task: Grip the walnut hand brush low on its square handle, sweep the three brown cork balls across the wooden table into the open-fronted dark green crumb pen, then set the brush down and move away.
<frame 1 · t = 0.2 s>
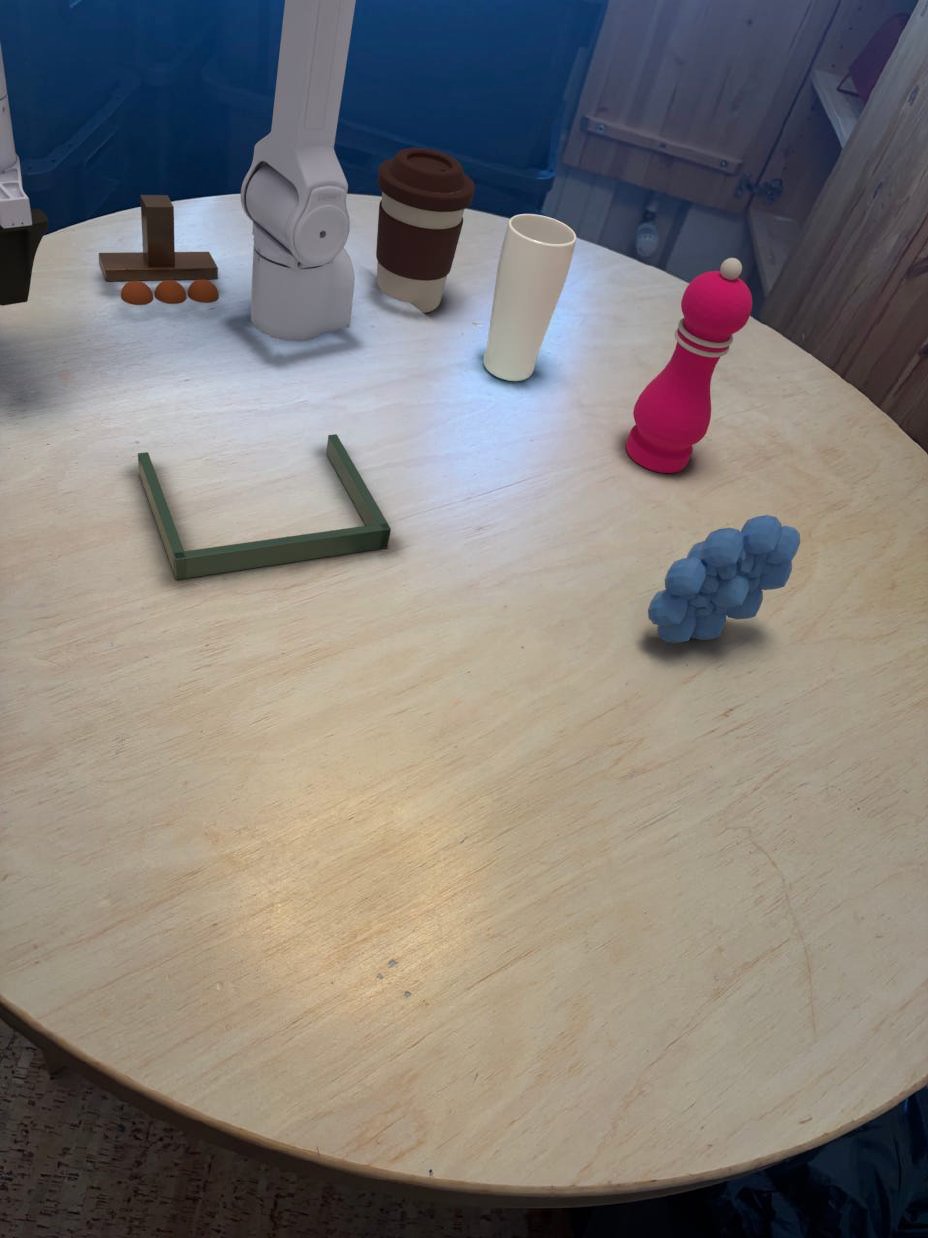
drinking glass: (506, 371, 99), on the table
ball 1: (137, 296, 92), point 1 cm above the table
pepper mill: (655, 456, 93), on the table
brush: (159, 285, 98), on the table
ball middle: (170, 295, 94), point 1 cm above the table
ball 2: (203, 294, 95), point 1 cm above the table
coffee cup: (407, 300, 106), on the table
grapes: (689, 629, 76), on the table
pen: (261, 507, 76), on the table
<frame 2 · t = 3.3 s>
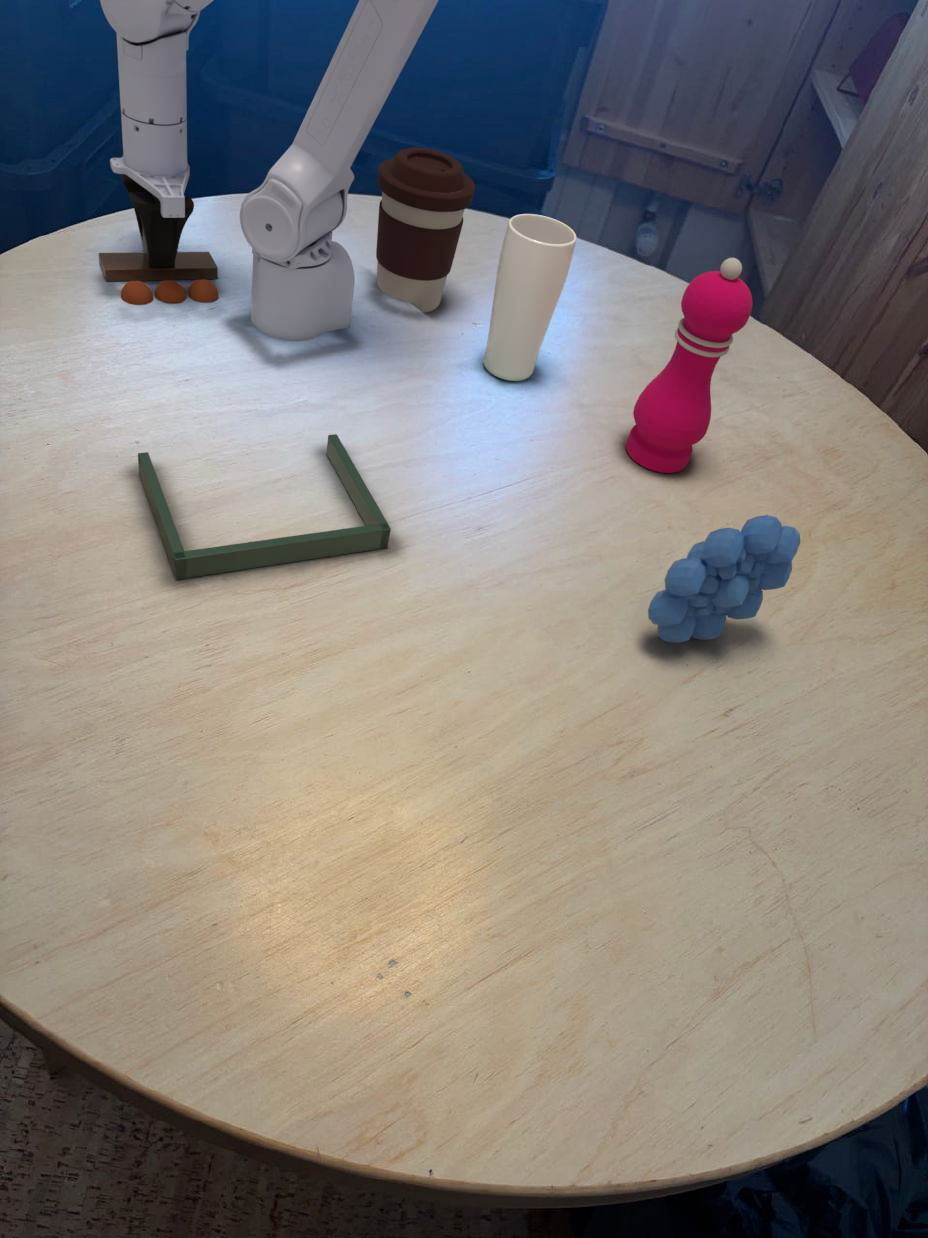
hand: (158, 257, 96), 3 cm above the table, tool pointing down, fingers closed on brush, 2 cm apart
brush: (159, 285, 98), on the table, touching gripper
everything else where it was.
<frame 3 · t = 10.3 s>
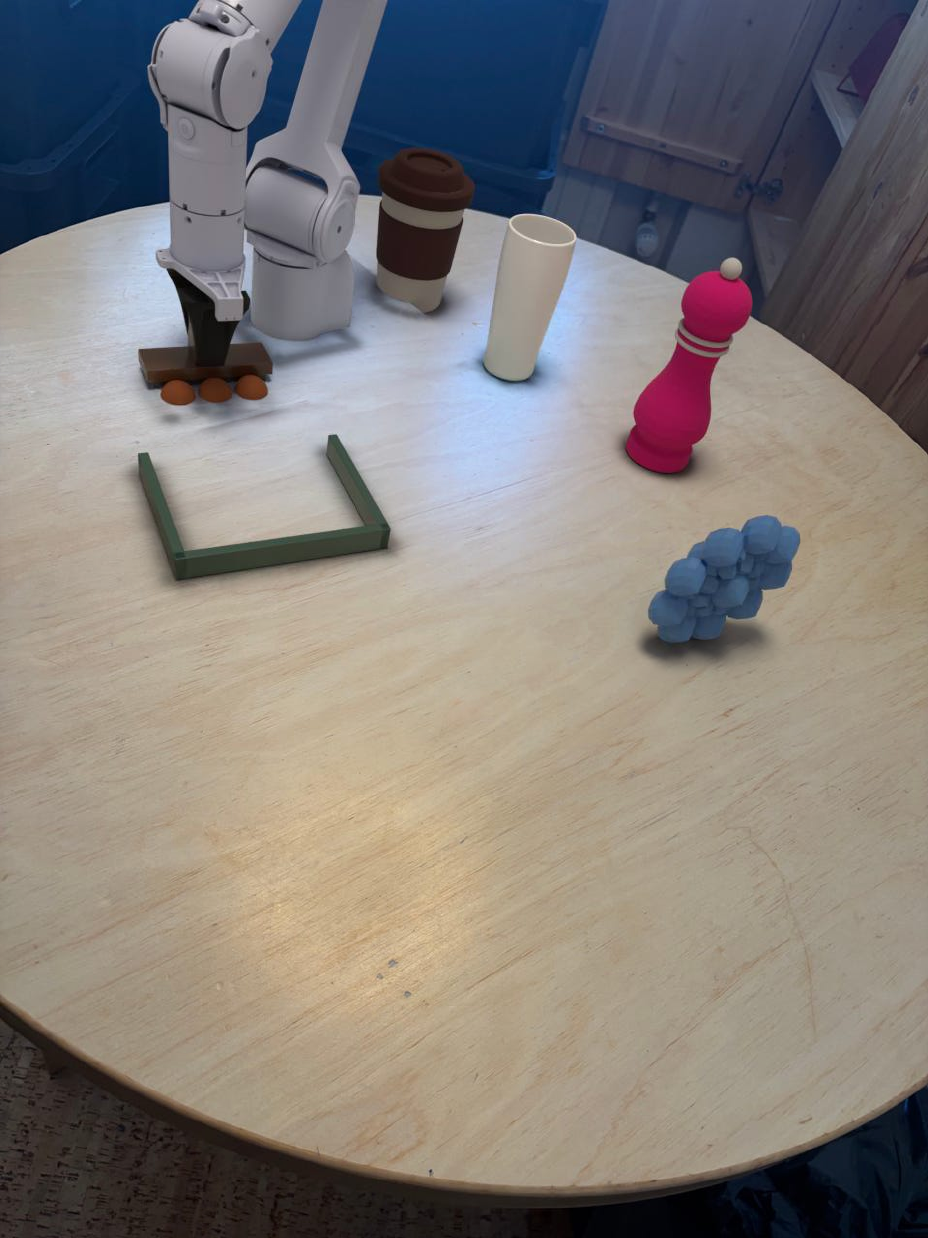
hand: (206, 354, 84), 4 cm above the table, tool pointing down, fingers closed on brush, 2 cm apart
ball 1: (178, 397, 82), point 1 cm above the table, tilted 24°, touching brush
brush: (206, 382, 86), point 1 cm above the table, touching ball 2, ball middle, ball 1, gripper
ball middle: (215, 394, 84), point 1 cm above the table, tilted 24°, touching brush
ball 2: (250, 392, 85), point 1 cm above the table, tilted 25°, touching brush
everything else where it was.
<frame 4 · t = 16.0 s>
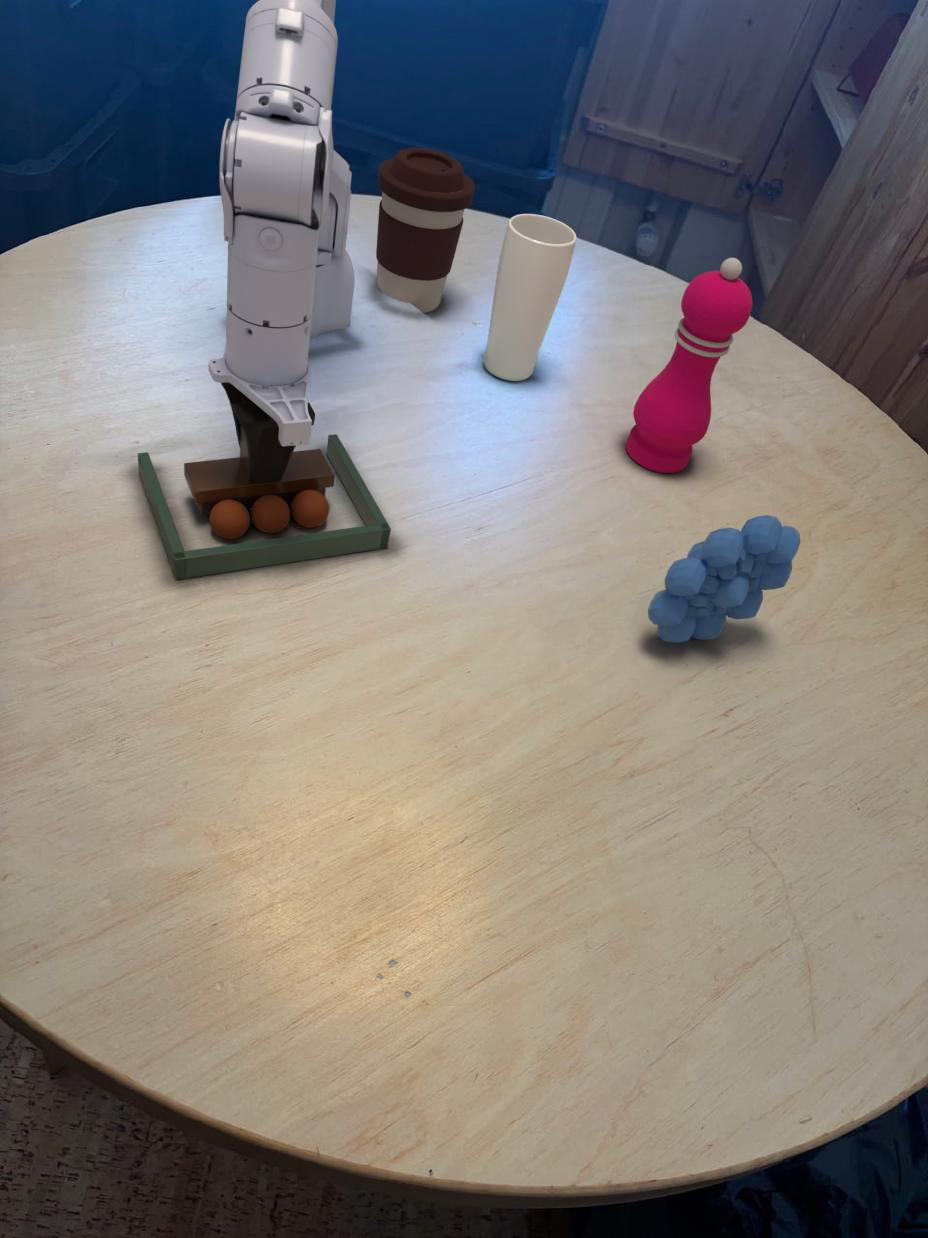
hand: (261, 467, 74), 4 cm above the table, tool pointing down, fingers closed on brush, 2 cm apart
ball 1: (229, 519, 73), point 1 cm above the table, tilted 27°, touching brush
brush: (259, 496, 76), point 1 cm above the table, touching ball 2, ball middle, ball 1, gripper
ball middle: (270, 513, 74), point 1 cm above the table, tilted 28°, touching brush
ball 2: (309, 508, 75), point 1 cm above the table, tilted 29°, touching brush
everything else where it was.
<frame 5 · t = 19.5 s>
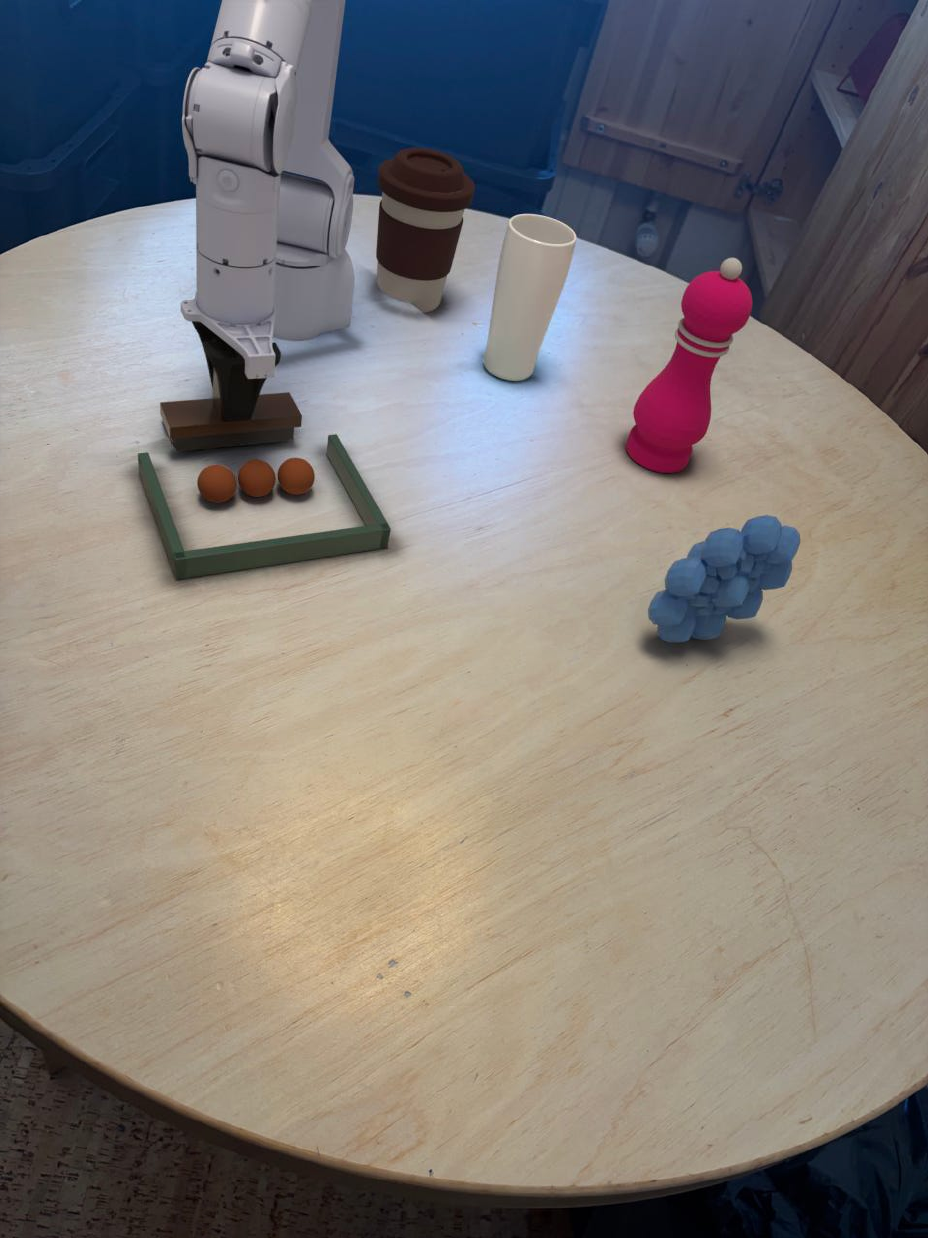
hand: (232, 407, 79), 3 cm above the table, tool pointing down, fingers closed on brush, 2 cm apart
ball 1: (217, 483, 75), point 1 cm above the table, tilted 132°
brush: (231, 435, 81), point 1 cm above the table, touching gripper
ball middle: (256, 478, 76), point 1 cm above the table, tilted 137°
ball 2: (296, 476, 78), point 1 cm above the table, tilted 123°
everything else where it was.
when the fingers open (3 cm above the table, at t = 20.0 s): brush stays where it is, on the table.
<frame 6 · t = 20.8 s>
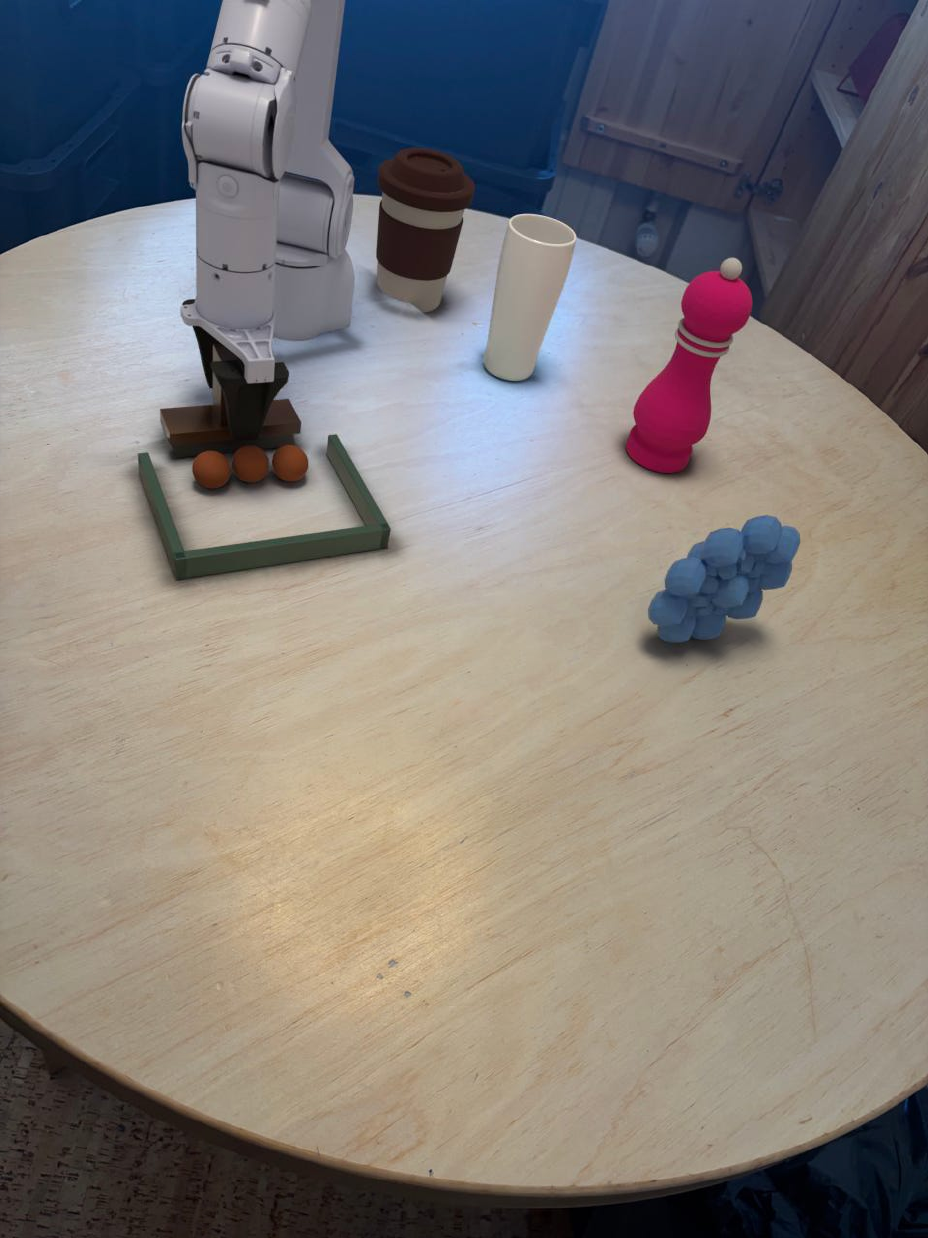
hand: (232, 410, 79), 3 cm above the table, tool pointing down, fingers open, 7 cm apart
ball 1: (211, 469, 76), point 1 cm above the table, tilted 157°
brush: (231, 441, 82), on the table
ball middle: (250, 463, 78), point 1 cm above the table, tilted 150°
ball 2: (290, 463, 79), point 1 cm above the table, tilted 169°
everything else where it was.
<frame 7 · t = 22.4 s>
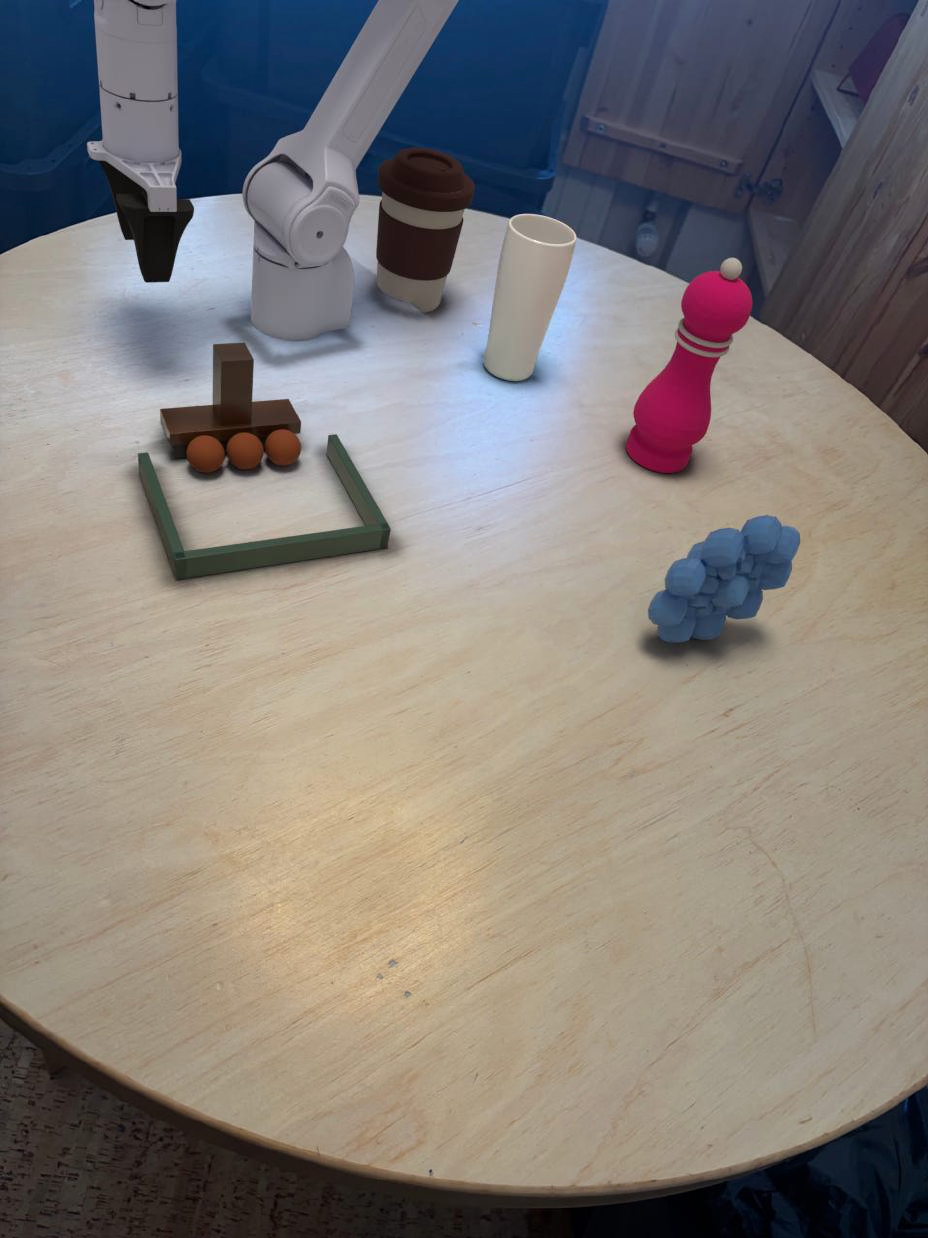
hand: (146, 258, 82), 9 cm above the table, tool pointing down, fingers open, 7 cm apart
ball 1: (205, 454, 77), point 1 cm above the table, tilted 78°
ball middle: (245, 450, 79), point 1 cm above the table, tilted 82°
ball 2: (282, 447, 80), point 1 cm above the table, tilted 85°
everything else where it was.
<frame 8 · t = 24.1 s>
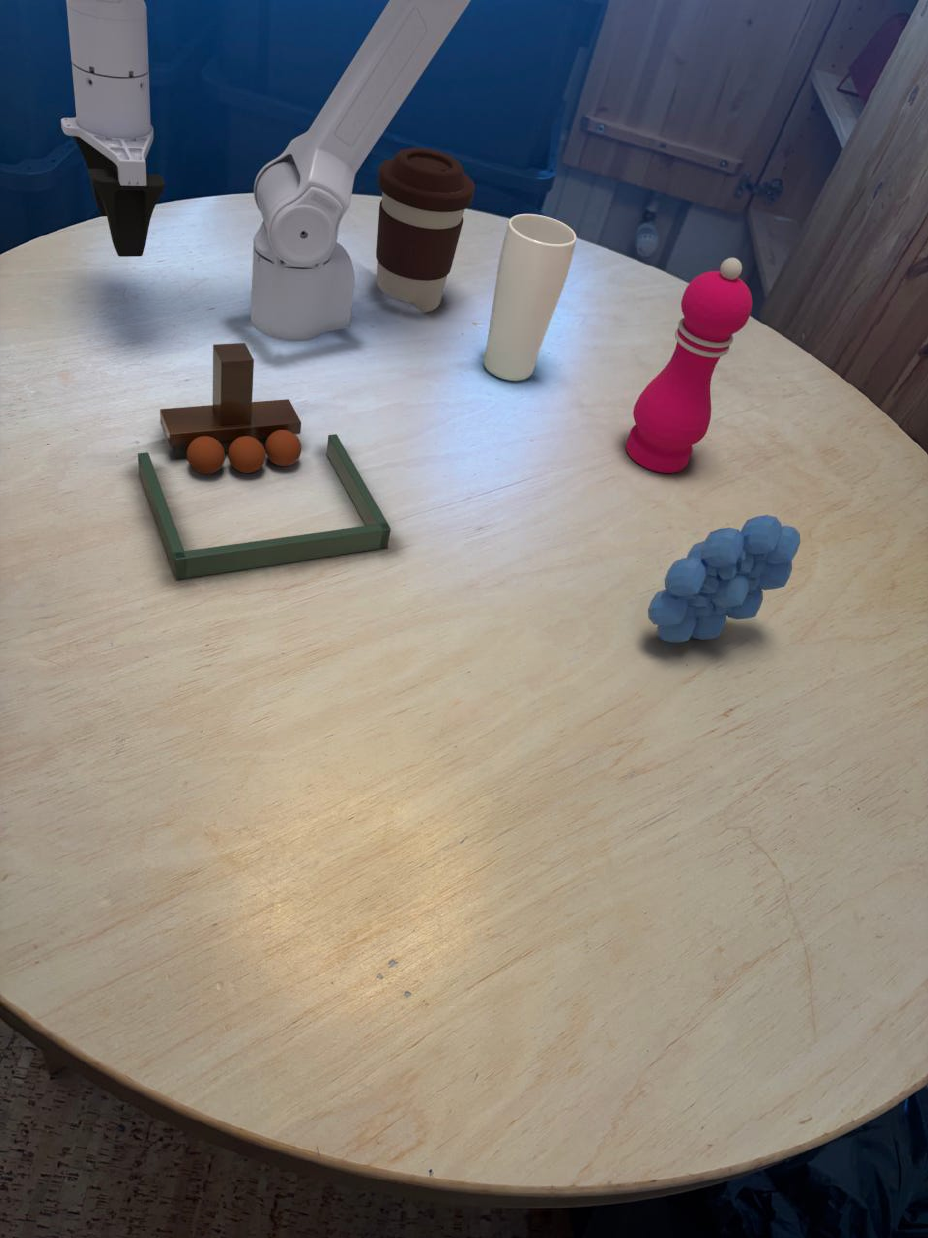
hand: (120, 234, 84), 9 cm above the table, tool pointing down, fingers open, 7 cm apart
ball middle: (246, 454, 78), point 1 cm above the table, tilted 102°
everything else where it was.
at the end: ball 2 inside the target area on the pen (6.4 cm from its centre), point 1.5 cm above the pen's base; ball middle inside the target area on the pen (5.0 cm from its centre), point 1.5 cm above the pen's base; ball 1 inside the target area on the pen (6.3 cm from its centre), point 1.5 cm above the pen's base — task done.
